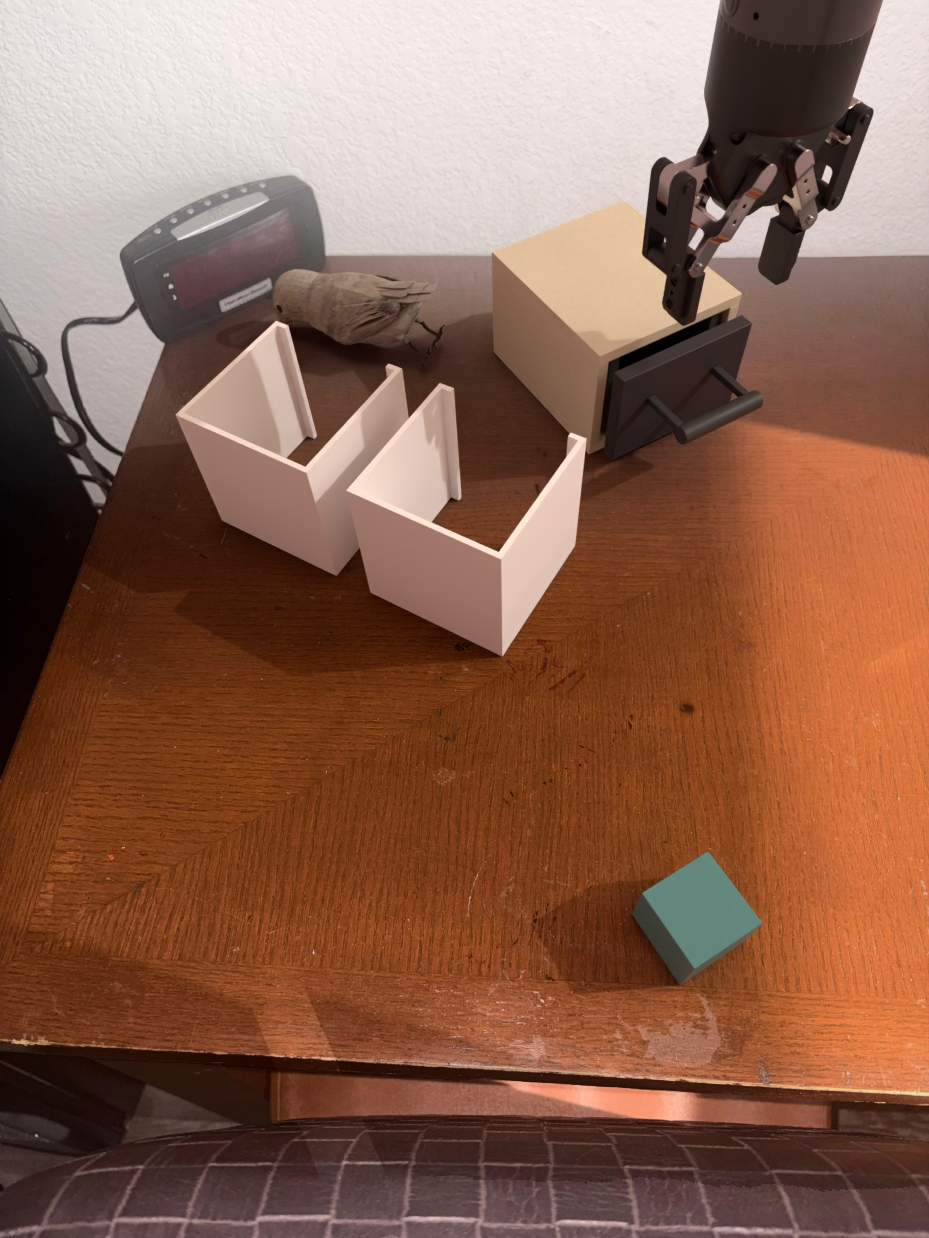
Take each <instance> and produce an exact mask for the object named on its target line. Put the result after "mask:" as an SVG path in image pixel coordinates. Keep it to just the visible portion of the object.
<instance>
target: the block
mask: <svg viewBox="0 0 929 1238" xmlns="http://www.w3.org/2000/svg"><path fill="white" fill-rule="evenodd" d="M631 916H632V917H633V918H634V920H635V921H636V923H637V925H638V926H639V928H640V929H641V930H642V932H643V933H644V935H645V936H646V938H647V939H648V940H649V942H650V943H651V945H652V947H653V948H654V949H655V951H656V953H657V954H658V956H659V957H660V958H661V960H662V961H663V963H664V964H665V966H666V967H667V969H668V970H669V972H670V973H671V975H672V976H673V978H674V979H675V981H676V982H677V984H678V985H679V986H681V985H683V984H684V983H686V982H687V981H689V980H690V979H692V978H693V977H694V976H696V975H698V974H700V972H702V971H703V970H705V969H707V968H708V967H709V966H711V965H712V964H714V963H716V962H717V961H718V960H720V959H721V958H723V957H724V956H726V955H727V954H729V953H730V952H732V951H733V950H734V949H736V948H738V947H739V946H740V945H742V944H743V943H744V942H746V940H747V939H748V938H750V937H751V935H752V934H754V933H755V931H756V930H757V929H759V928H760V926H762V924H763V922H762V920H761V919H760V918H759V916H757V914H756V912H755V911H754V910H753V908H752V907H751V906H750V905H749V903H748V902H747V901H746V899H745V898H744V897H743V895H742V894H741V893H740V892H739V890H738V889H737V888H736V886H735V885H734V884H733V882H732V880H731V879H730V878H729V877H728V875H727V874H726V873H725V871H724V869H722V868H721V867H720V865H719V864H718V862H717V861H716V860H715V858H714V857H713V856H712V855H711V853H710V852H709V851H705V852H704V853H702V854H701V855H699V856H698V857H695V858H694V859H692V860H691V861H690V862H688V863H686V864H685V865H683V866H682V867H680V868H679V869H677V870H676V871H674V872H672V873H671V874H669V875H667V876H666V877H664V878H663V879H661V880H660V881H658V882H656V883H655V884H653V885H652V886H650V887H649V888H647V889H645V890H644V891H642V892H641V893H640V896H639V898H638V901H637V902H636V905H635V907H634V909H633V911H632V913H631Z"/></svg>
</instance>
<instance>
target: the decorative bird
mask: <svg viewBox="0 0 929 1238" xmlns="http://www.w3.org/2000/svg"><path fill="white" fill-rule="evenodd" d="M438 285H439V284H438V283H432V284H431V283H429V281H421V282H417V281H416V280H401V279H398V278H396V277H394V276H390V275H383V274H370V273H363V272H355V271H342V272H335V273H327V272H326V273H325V272H318V271H313V270H308V269H303V268H302V269H301V268H294V269H291V270H288V271H285V272H283V273H282V274H280V276H279V277H278V278H277V280H276V282H275V284H274V286H273V288H272V295H271V303H272V307H273V311H274V313H275V315H276V318H277V320H279V322H280V323H283V324H286V325H289V324H291V323H294V322H295V321H301V322H307V323H308V324H309V325H310V326H311V327H312V328H315V329H316V330H318V331H320V332H322V333H324V334H325V335H326V336H328V337H329V338H331V339H332V340H334V341H335V342H337V343H338V344H341V345H344V346H347V345H349V346H350V345H355V344H357V343H360V344H371V345H372V344H374V345H375V344H395V343H399V342H400V343H403V344H405V345H408V346H409V347H410V349H411V350H413V351H414V352H415V353H417V354H418V355H420V356H423V358H422V359H421V360H420V362H419V364H418V365H419V366H418V372H419V373H418V374H421V368H424V364H425V363H426V362H427V361H428V360H429V358H430V356H431V352H434V351H433V349H434V348H435V349H436V348H437V347H436V345H437V343H438V342H439V341H440V340H442V337H443V334H444V332H443V328H444V327H445V326H446V324H442V325H441V326H440V327H439V329H438V332H437V331H435V330H433V329H431V328H429V327H428V325H427V324H426V323H425V321H424V320H423V319H422V318H421V317H420V316H419V313H420V310H421V307H422V304H423V303H426V302H428V300H429V299H430V297H431V293H434V292H435V290H436V289H437V287H438ZM414 323H416V324H419V325H421V326H422V328H423V329H424V330H425V331H426V332H428V333H429V334H431V335H433V336H435V339H434V340H433V342H432V344H431V345H429V346H428V347H427V348H426V351H425V352H424V351H422V350H420V349H418V347H416V346H415V345H414V344H413V342H412V341H411V340H410V338H409V337H407V334H409V332H410V330H411V328H412V326H413V325H414ZM430 351H431V352H430Z"/></svg>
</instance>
